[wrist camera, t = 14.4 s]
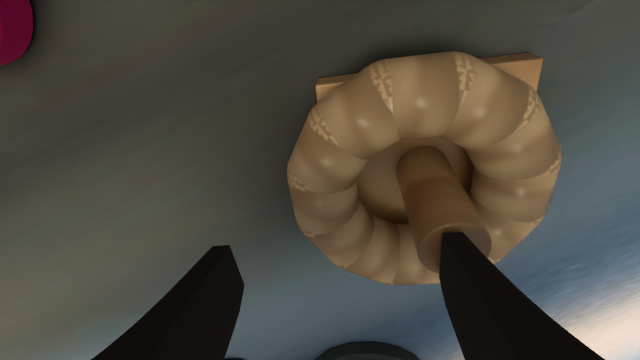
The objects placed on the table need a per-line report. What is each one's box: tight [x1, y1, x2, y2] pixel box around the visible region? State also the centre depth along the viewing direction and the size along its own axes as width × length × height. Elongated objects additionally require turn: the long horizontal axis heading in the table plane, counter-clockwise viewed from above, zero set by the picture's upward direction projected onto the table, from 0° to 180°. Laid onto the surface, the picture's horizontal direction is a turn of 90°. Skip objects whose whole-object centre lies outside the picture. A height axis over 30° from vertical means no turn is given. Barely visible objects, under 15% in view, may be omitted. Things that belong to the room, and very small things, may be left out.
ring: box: [287, 51, 562, 285], centre depth 14 cm, size 11×11×3 cm
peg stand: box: [315, 53, 543, 274], centre depth 14 cm, size 9×9×7 cm
